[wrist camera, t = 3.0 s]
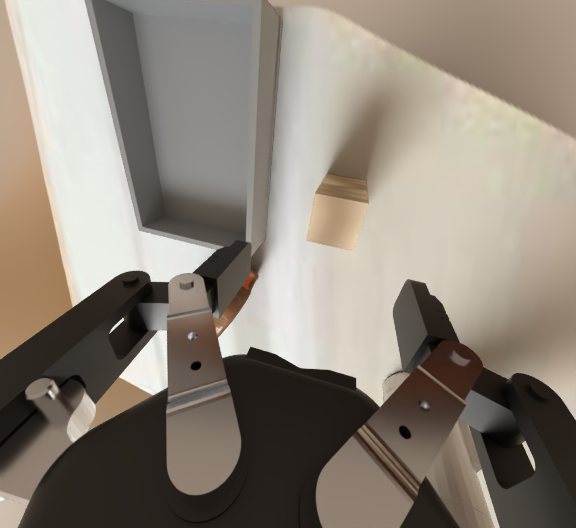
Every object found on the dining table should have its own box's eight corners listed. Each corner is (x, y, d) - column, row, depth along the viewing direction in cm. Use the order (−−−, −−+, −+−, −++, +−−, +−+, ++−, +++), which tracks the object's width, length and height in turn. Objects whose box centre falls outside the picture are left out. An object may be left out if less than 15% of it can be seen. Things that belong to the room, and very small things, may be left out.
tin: (251, 253, 32) (221, 290, 25) (270, 267, 32) (245, 307, 25) (208, 311, 40) (176, 351, 33) (223, 321, 40) (195, 363, 34)
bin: (282, 20, 19) (261, -7, 15) (265, 239, 30) (250, 257, 26) (134, 7, 21) (80, -20, 17) (167, 216, 32) (138, 230, 28)
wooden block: (366, 180, 24) (368, 203, 17) (355, 218, 26) (354, 251, 19) (326, 173, 24) (314, 193, 18) (319, 210, 27) (306, 240, 20)
